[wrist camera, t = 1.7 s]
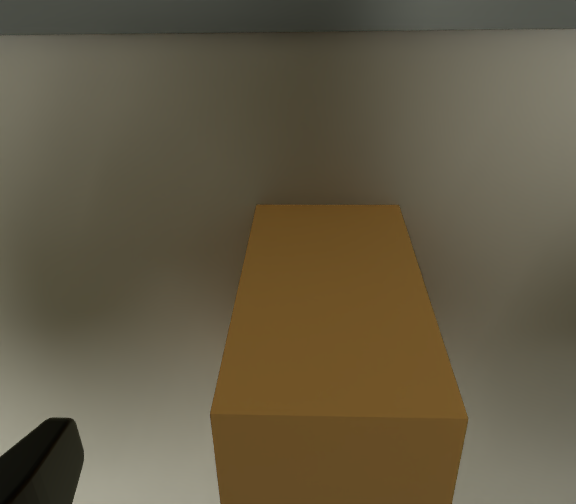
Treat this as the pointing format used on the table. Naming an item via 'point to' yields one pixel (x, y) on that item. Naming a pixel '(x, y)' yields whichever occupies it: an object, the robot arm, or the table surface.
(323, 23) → the desk well
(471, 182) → the table surface
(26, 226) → the table surface
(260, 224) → the brown rectangular block
